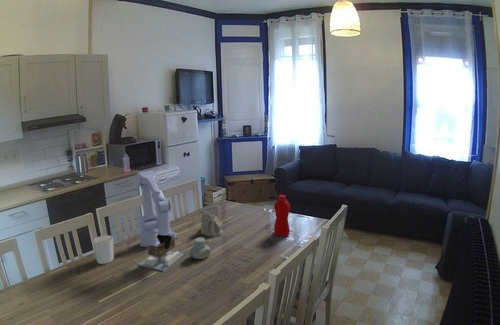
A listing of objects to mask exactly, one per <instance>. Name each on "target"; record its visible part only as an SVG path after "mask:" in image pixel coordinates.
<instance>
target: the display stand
mask: <svg viewBox="0 0 500 325" xmlns="http://www.w3.org/2000/svg"><path fill="white" fill-rule="evenodd" d="M184 256H185V254H184V253H181V252H180V251H177V250H176V251H172V249H171V250H170V251H169V252H167V253H166V254H164V255H163V256H161V257H157V256H152V255H149V256H147V257H146V258H145V259H143V260H142V261H140V262H139V263H137V266H139V267H143V268H147V269H152V270H155V271H158V272H159V271H160V272H163V273H164V272H165V271H167V269H170V267H172V266H173V265H174V264H176V262H178V261H179V260H180V259H182V258H183V257H184Z"/></svg>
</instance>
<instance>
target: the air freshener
mask: <svg viewBox="0 0 500 325" xmlns="http://www.w3.org/2000/svg"><path fill="white" fill-rule="evenodd" d="M189 254H190V256H191V257H192V258H193V259H194V260H195V259H196V260H204V259H206V258H207V257H209V256H210V254H211V248H210V247H209V246H208V245H206V239H205V237H200V236H199V237H197V238H195V239H194V240H193V246H192V247H191V248H190V250H189Z"/></svg>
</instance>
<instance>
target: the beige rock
mask: <svg viewBox="0 0 500 325" xmlns="http://www.w3.org/2000/svg"><path fill="white" fill-rule="evenodd" d="M201 222H202V224H201V230H200V233H201V234H202V235H204V236H208V237H213V238H214V237H215V238H216V237H217V238H218V237H221V236H223V235H224V233H225V232H224V230H223V223H222V221H221V220H220V218H219V217H218V216H217V215H214V214H212V213H209V214H208V212H207V211H206V210H204V211H203V213H202V217H201Z"/></svg>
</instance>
